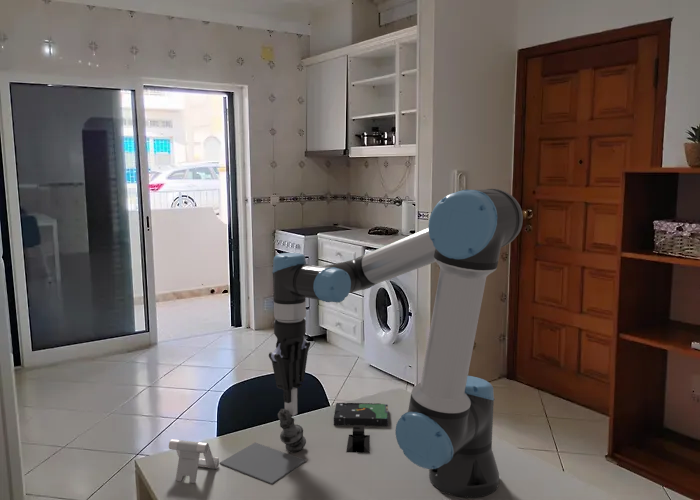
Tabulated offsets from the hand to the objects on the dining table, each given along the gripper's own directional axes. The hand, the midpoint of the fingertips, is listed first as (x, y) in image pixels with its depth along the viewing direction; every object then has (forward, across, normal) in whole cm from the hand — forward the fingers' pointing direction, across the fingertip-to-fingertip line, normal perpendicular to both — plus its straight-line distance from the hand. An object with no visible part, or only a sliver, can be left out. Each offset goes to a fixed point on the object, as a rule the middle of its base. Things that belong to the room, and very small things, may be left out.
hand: (291, 413), depth 138 cm
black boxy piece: (+10, -12, +12) cm, 20 cm away
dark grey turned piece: (+9, -2, 0) cm, 9 cm away
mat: (+10, +8, -2) cm, 13 cm away
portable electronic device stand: (+10, +20, -12) cm, 25 cm away
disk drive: (+10, -25, +4) cm, 28 cm away
